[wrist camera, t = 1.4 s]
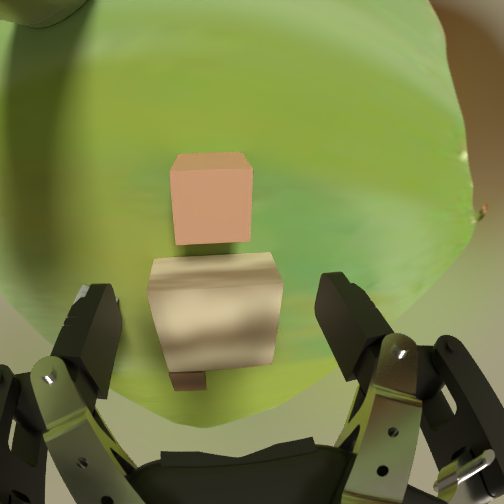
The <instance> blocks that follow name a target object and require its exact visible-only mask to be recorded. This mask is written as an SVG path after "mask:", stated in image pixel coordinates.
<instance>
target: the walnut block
mask: <svg viewBox="0 0 504 504" xmlns="http://www.w3.org/2000/svg"><path fill="white" fill-rule="evenodd" d="M169 376H170V379H171V382H172V385H173V388H174V390H175V391H194V390H206V377H205V371H185V372H169Z"/></svg>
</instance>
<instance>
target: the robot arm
mask: <svg viewBox="0 0 504 504" xmlns="http://www.w3.org/2000/svg"><path fill="white" fill-rule="evenodd" d="M86 1H87V0H0V20H5V21H9V22H13V23H17V24H21V25H24V26H29V27H33V28H43V27H47V26H50V25H53V24H55V23H57V22H60V21H62V20H63V19H65V18H66V17H68V16H70V15H71V14H72V13H74V12H75V11H76V10H77V9H79V8H80V7H81V6H82V5H83V4H84V3H85V2H86ZM315 316H316V319H317V321H318V323H319V325H320V327H321V329H322V331H323V333H324V336H325V338H326V340H327V342H328V344H329V346H330V348H331V350H332V352H333V354H334V357H335V359H336V361H337V363H338V365H339V367H340V369H341V371H342V374H343V376H344V378H345V380H346V382H347V381H352V380H356V379H357V380H358V382H359V385H358V387H357V390H356V393H355V396H354V399H353V402H352V405H351V408H350V411H349V414H348V417H347V420H346V422H345V425H344V428H343V430H342V432H341V434H340V435H339V437H338V439H337V441H336V443H335V445H334V447H333V446H328V445H319V444H318V445H316V444H315V443H314V440H313V437H309V438H305V439H300V440H295V441H290V442H285V443H279V444H275V445H273V446H271V447H268V448H265V449H263V450H260V451H257V452H255V453H252V454H249V455H246V456H243V457H238V458H236V457H228V456H221V455H214V454H209V453H203V452H167V451H161V459H160V460H156V461H152V462H149V463H147V464H144V465H142V466H140V467H137V466H136V465H135V463H134V462H133V461H132V460H131V459H130V457H129V456H128V455H127V454H126V453H125V452H124V451H123V449H122V448H121V446H120V445H119V444H118V442H117V441H116V440H115V438H114V436H113V435H112V433H111V431H110V430H109V429H108V427H107V425H106V424H105V422H104V421H103V419H102V417H101V415H100V414H99V412H98V410H97V409H96V407H95V403H96V398H98V399H107V396H108V390H109V385H110V379H111V374H112V369H113V365H114V360H115V355H116V351H117V347H118V342H119V338H120V334H121V330H122V318H121V313H120V310H119V307H118V304H117V301H116V298H115V294H114V291H113V288H112V286H111V284H91V285H90V287H89V289H88V291H87V293H86V295H85V297H80V298H79V299H78V300H77V301H76V302H75V303H74V304H73V305H72V307H71V309H70V311H69V313H68V315H67V318H66V320H65V322H64V326H62V329H61V331H60V333H59V335H58V338H57V340H56V343H55V345H54V348H53V350H52V353H51V355H50V356H47V357H45V358H42V359H41V360H39V361H38V362H37V363H36V364H35V365H34V366H33V368H32V371H31V372H28V373H22V374H16V375H14V374H13V372H12V371H11V370H10V368H9V367H8V366H6V365H2V364H1V365H0V504H45V474H46V461H47V451H48V450H49V452H50V454H51V457H52V459H53V461H54V463H55V465H56V467H57V469H58V471H59V473H60V475H61V477H62V479H63V481H64V482H65V484H66V486H67V488H68V490H69V491H70V493H71V495H72V496H73V498H74V500H75V502H76V503H77V504H488V503H489V502H490V501H491V500H493V499H495V498H497V497H499V496H501V495H503V494H504V408H503V406H502V404H501V403H500V401H499V399H498V398H497V396H496V394H495V392H494V391H493V389H492V387H491V386H490V384H489V382H488V381H487V379H486V378H485V376H484V375H483V373H482V372H481V370H480V369H479V367H478V365H477V364H476V363H475V361H474V359H473V358H472V356H471V355H470V354H469V352H468V351H467V349H466V348H465V347H464V345H463V344H462V342H461V341H459V340H458V339H457V338H455V337H453V336H450V335H443V336H440V337H439V338H438V340H437V341H436V343H435V344H434V346H419V345H416V343H415V342H414V341H413V340H412V339H411V338H410V337H408V336H406V335H404V334H400V333H394V331H393V330H392V328H391V327H390V326H389V324H388V323H387V321H386V320H385V319H384V317H383V316H382V314H381V313H380V312H379V310H378V309H377V308H376V306H375V305H374V303H373V302H372V301H370V298H369V296H368V295H367V294H366V292H365V291H364V290H363V289H361V288H360V287H359V286H357V285H356V284H354V283H350V282H349V280H348V279H347V278H346V276H345V275H344V274H343V273H342V272H331V273H323V274H322V275H321V278H320V283H319V287H318V292H317V296H316V301H315ZM445 384H446V386H447V388H448V390H449V391H450V393H451V395H452V397H453V399H454V400H455V402H456V405H457V411H456V414H455V415H454V413H453V412H452V410H451V408H450V406H449V404H448V402H447V400H446V398H445V396H444V395H443V393H442V391H441V389H442V388H443V387H444V385H445ZM12 419H14V420H15V421H16V427H15V432H14V437H13V443H12V449H11V451H10V449H9V445H8V439H9V433H10V428H11V424H12ZM420 427H421V430H422V432H423V434H424V436H425V439H426V441H427V443H428V446H429V448H430V451H431V452H432V455H433V458H434V460H435V463H436V465H437V468H438V470H439V474H438V478H437V480H436V481H435V483H434V485H433V488H434V490H435V491H436V492H438V497H435V496H433V495H431V494H428V493H426V492H424V491H422V490H419V489H417V488H415V487H413V486H411V485H409V484H408V480H409V476H410V472H411V468H412V464H413V460H414V455H415V450H416V445H417V440H418V434H419V428H420Z"/></svg>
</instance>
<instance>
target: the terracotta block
mask: <svg viewBox="0 0 504 504" xmlns="http://www.w3.org/2000/svg"><path fill="white" fill-rule="evenodd" d="M252 181H253V168H252V167H251V165H250V164H249V162H248V161H247V160H246V158H245V157H244V156H243V154H242V153H241V152H212V153H189V154H178V156H177V158H176V160H175V162H174V164H173V166H172V168H171V170H170V185H171V198H172V211H173V221H174V232H175V241H176V245H189V244H208V243H228V242H248V241H250V236H251V208H252Z"/></svg>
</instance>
